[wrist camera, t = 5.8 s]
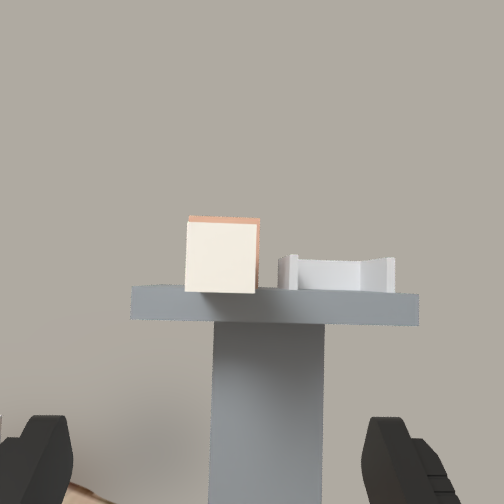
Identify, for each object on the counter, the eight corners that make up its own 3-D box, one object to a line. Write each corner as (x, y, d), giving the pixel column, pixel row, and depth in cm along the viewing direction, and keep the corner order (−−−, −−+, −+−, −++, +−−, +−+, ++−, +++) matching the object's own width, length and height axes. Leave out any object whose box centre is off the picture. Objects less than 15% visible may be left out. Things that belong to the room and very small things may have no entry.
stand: (105, 854, 25) (133, 245, 27) (146, 658, 38) (163, 256, 40) (416, 840, 26) (419, 255, 28) (353, 654, 39) (358, 263, 41)
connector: (161, 291, 19) (165, 175, 19) (191, 286, 36) (194, 224, 36) (277, 294, 19) (280, 180, 20) (253, 287, 36) (255, 226, 36)
